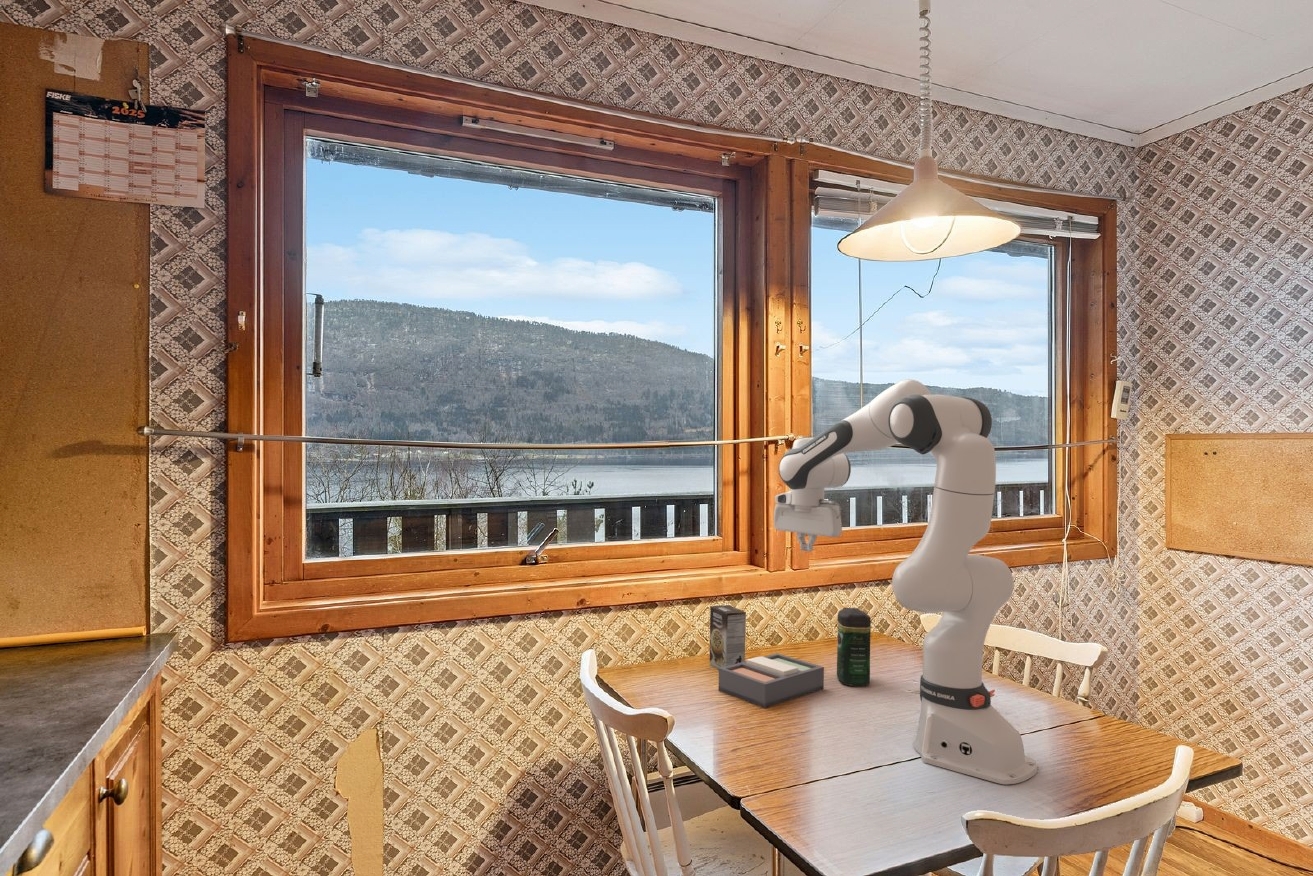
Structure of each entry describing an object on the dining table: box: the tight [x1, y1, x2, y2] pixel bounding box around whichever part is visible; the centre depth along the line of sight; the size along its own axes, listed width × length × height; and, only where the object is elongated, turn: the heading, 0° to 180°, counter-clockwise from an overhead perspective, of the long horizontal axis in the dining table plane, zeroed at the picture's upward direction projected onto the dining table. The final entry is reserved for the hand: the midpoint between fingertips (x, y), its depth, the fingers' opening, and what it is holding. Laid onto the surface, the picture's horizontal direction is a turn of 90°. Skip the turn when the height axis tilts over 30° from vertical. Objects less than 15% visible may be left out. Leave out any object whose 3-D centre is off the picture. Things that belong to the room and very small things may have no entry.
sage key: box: [772, 658, 811, 671], centre depth 186 cm, size 12×5×3 cm, turn 40°
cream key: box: [746, 655, 798, 676], centre depth 181 cm, size 12×5×3 cm, turn 40°
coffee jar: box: [836, 607, 872, 687], centre depth 189 cm, size 10×8×19 cm
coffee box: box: [709, 604, 747, 670], centre depth 199 cm, size 9×6×16 cm
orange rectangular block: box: [731, 668, 775, 682], centre depth 177 cm, size 12×5×3 cm, turn 40°
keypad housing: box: [718, 652, 825, 709], centre depth 181 cm, size 15×22×6 cm
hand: (806, 550), depth 192 cm, fingers closed
